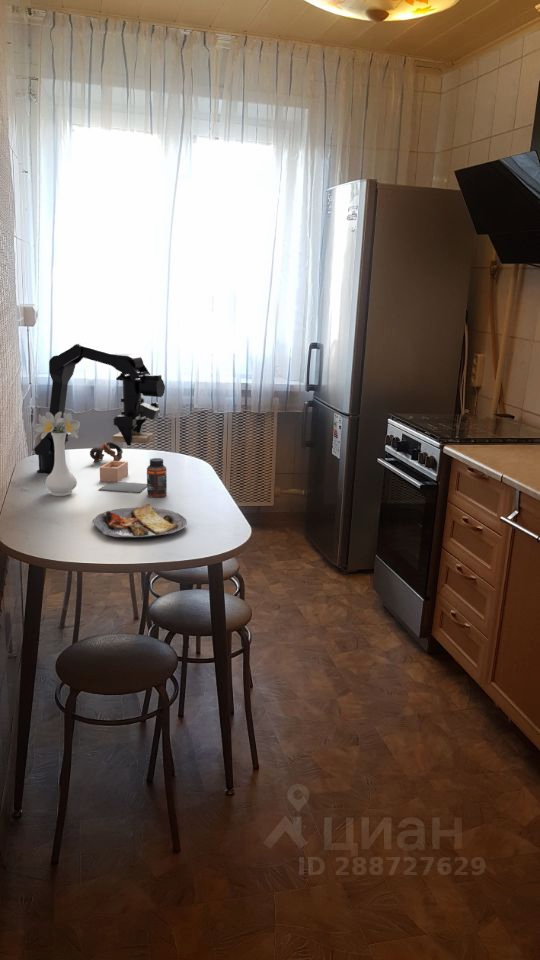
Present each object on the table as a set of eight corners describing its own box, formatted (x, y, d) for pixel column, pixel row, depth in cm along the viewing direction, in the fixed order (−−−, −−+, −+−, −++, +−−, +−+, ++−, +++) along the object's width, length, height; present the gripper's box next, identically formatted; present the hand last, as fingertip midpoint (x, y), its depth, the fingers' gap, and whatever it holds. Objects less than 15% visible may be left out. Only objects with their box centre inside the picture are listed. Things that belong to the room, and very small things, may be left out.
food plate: (83, 519, 209) (82, 506, 208) (163, 510, 220) (163, 498, 219) (112, 550, 188) (112, 536, 187) (199, 538, 199) (199, 525, 198)
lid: (145, 443, 242) (145, 434, 242) (112, 441, 244) (112, 432, 243) (153, 439, 249) (152, 430, 249) (120, 437, 251) (120, 428, 250)
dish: (99, 480, 249) (99, 467, 248) (111, 473, 259) (110, 460, 257) (117, 482, 248) (117, 468, 247) (128, 474, 258) (127, 461, 257)
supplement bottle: (170, 494, 235) (170, 458, 233) (160, 499, 230) (159, 462, 227) (154, 491, 238) (153, 456, 235) (143, 496, 233) (142, 460, 230)
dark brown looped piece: (106, 459, 282) (116, 441, 279) (119, 474, 277) (129, 456, 274) (80, 455, 272) (90, 436, 270) (93, 471, 267) (104, 452, 265)
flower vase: (85, 485, 243) (83, 407, 237) (78, 501, 226) (75, 417, 219) (43, 485, 242) (39, 406, 235) (33, 501, 224) (28, 417, 218)
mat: (98, 490, 238) (98, 489, 238) (110, 482, 247) (110, 481, 247) (139, 493, 236) (139, 491, 236) (149, 485, 245) (149, 483, 245)
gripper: (147, 400, 233) (148, 450, 237) (165, 392, 251) (165, 439, 255) (112, 398, 235) (113, 448, 238) (132, 390, 252) (133, 437, 256)
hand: (133, 443), depth 247 cm, fingers closed on lid, 7 cm apart
